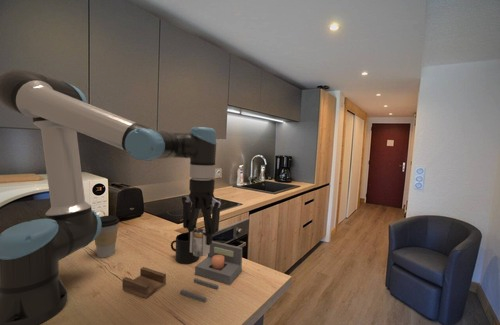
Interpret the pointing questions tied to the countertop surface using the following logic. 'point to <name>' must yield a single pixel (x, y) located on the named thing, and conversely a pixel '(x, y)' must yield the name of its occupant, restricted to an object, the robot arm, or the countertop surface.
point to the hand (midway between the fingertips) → (199, 252)
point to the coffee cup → (107, 236)
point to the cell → (198, 242)
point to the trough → (144, 282)
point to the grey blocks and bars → (225, 275)
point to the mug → (183, 249)
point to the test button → (218, 262)
